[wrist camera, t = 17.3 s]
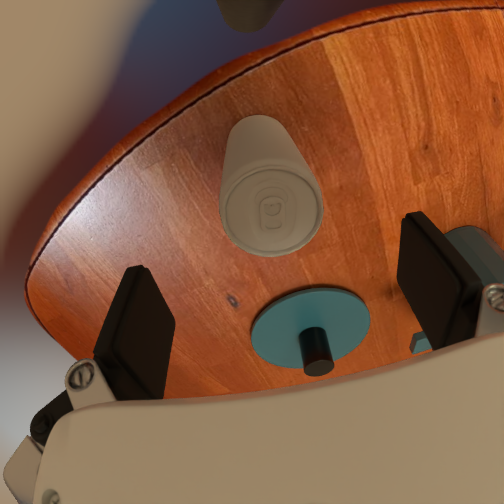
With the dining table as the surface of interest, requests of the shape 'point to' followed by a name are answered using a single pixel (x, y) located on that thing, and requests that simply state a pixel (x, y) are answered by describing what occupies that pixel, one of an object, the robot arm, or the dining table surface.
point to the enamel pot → (478, 257)
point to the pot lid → (310, 329)
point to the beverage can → (267, 190)
